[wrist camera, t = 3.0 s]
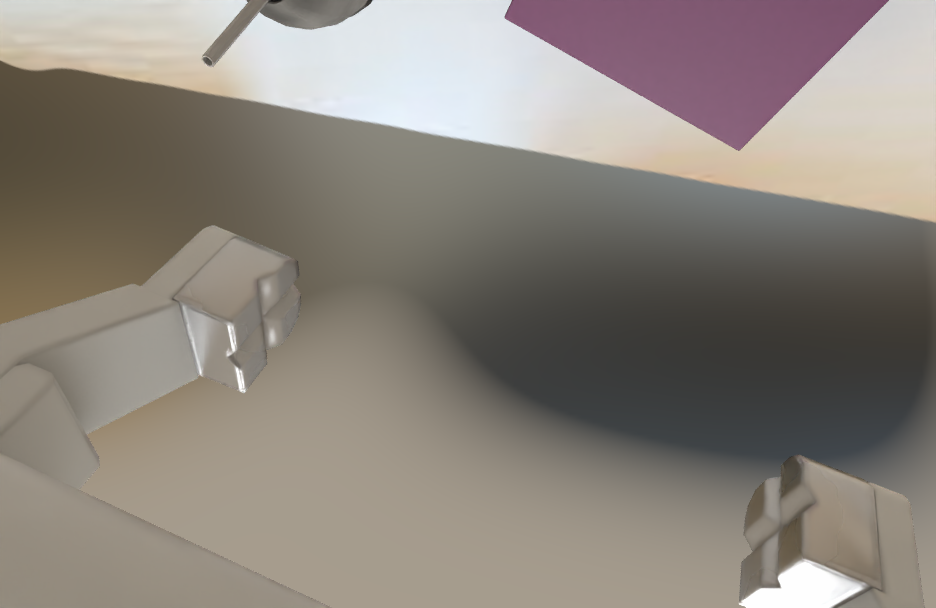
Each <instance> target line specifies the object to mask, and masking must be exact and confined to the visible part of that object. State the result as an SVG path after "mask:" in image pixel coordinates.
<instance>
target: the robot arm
mask: <svg viewBox="0 0 936 608" xmlns="http://www.w3.org/2000/svg"><path fill="white" fill-rule="evenodd" d="M298 276H299V267H298V261H297V260H295V259H293V258H291V257H288V256H286V255H284V254H281V253H279V252H277V251H274V250H272V249H269V248H267V247H265V246H262V245H260V244H258V243H255V242H253V241H251V240H248V239H246V238H243V237H241V236H238V235H236V234H233V233H231V232H228V231H226V230H223V229H221V228H219V227H216V226H214V225H213V226H210V227H207V228H205V229H203V230H201V231H200V232H199V233H198V234H197V235H196V236H195V237H194V238H193V239H192V240H191V241H189V242H188V243H187V244H186V245H185V246H184V247H183V248H182V249H181V250H180V251H179V252H178V253H177V254H176V255H174V256H173V257H172V258H171V259H170V260H169V261H168V262H167V263H166V264H165V265H164V266H163V267H162V268H160V269H159V270H158V271H157V272H156V273H155V274H154V275H153V276H152V277H151V278H150V279H148V280H147V281H146V282H145V283H144V284H143V285H142V286H141V287H140V286H138V285H135V284H130V285H127V286H124V287H121V288H117V289H114V290H111V291H108V292H104V293H101V294H98V295H94V296H91V297H88V298H85V299H81V300H78V301H75V302H72V303H69V304H65V305H62V306H59V307H55V308H52V309H49V310H46V311H42V312H39V313H36V314H33V315H29V316H26V317H23V318H20V319H17V320H13V321H10V322H7V323H4V324H0V608H331V607H329V606H327V605H325V604H323V603H321V602H319V601H316V600H314V599H312V598H310V597H308V596H306V595H303V594H301V593H299V592H297V591H295V590H293V589H291V588H289V587H286V586H284V585H282V584H280V583H278V582H276V581H274V580H271V579H269V578H267V577H265V576H262V575H261V574H259V573H256V572H254V571H252V570H250V569H248V568H246V567H244V566H241V565H239V564H237V563H235V562H233V561H231V560H228V559H226V558H224V557H222V556H220V555H218V554H216V553H213V552H211V551H209V550H207V549H205V548H203V547H201V546H199V545H196V544H194V543H192V542H190V541H188V540H186V539H184V538H181V537H179V536H177V535H175V534H173V533H171V532H169V531H166V530H164V529H162V528H160V527H158V526H156V525H154V524H151V523H149V522H147V521H145V520H143V519H141V518H139V517H136V516H134V515H132V514H130V513H128V512H126V511H124V510H121V509H119V508H117V507H115V506H113V505H111V504H108V503H106V502H104V501H102V500H100V499H98V498H96V497H93V496H91V495H89V494H87V493H85V492H83V491H81V490H79V489H80V488H81V487H82V486H83V485H84V484H85V483H86V481H87V480H88V479H89V478H90V477H91V476H92V474H93V473H94V472H95V471H96V470H97V469H98V467H99V465H100V464H99V456H98V454H97V453H96V451H95V449H94V447H93V445H92V444H91V442H90V440H89V438H88V437H87V434H88V433H90V432H93V431H94V430H96V429H98V428H100V427H102V426H104V425H106V424H108V423H110V422H112V421H114V420H116V419H118V418H120V417H122V416H124V415H126V414H128V413H130V412H132V411H134V410H136V409H138V408H140V407H142V406H144V405H146V404H148V403H150V402H151V401H154V400H156V399H157V398H160V397H161V396H163V395H165V394H167V393H169V392H171V391H173V390H175V389H177V388H179V387H181V386H183V385H185V384H187V383H189V382H191V381H193V380H195V379H197V378H198V375H200V376H203V377H205V378H208V379H210V380H213V381H215V382H218V383H221V384H223V385H226V386H228V387H231V388H233V389H236V390H238V391H241V392H243V393H245V391H246V390H247V389H248V388H249V386H250V385H251V384H252V382H253V381H254V380H255V379H256V377H257V376H258V375H259V373H260V372H261V371H262V370H263V368H264V367H265V366H266V365H267V352H266V350H269V349H271V348H274V347H277V346H279V345H282V344H283V342H284V341H285V340H286V338H287V337H288V336H289V334H290V333H291V332H292V329H293V327H294V325H295V323H296V321H297V318H298V316H299V311H300V306H301V294H300V292H299V291H298V290H297V288H296V287H295V285H294V284H293V283H294V281H295V280H296V279H297V278H298ZM744 536H745V538H746V540H747V542H748V543H749V545H750V548H751V550H752V551H753V552H752V553H751V554H750V555H749V556H748V557H746V558H745V559H744V560H743V561H742V565H741V580H740V596H739V604H741V605H743V606H745V607H747V608H925V607H924V600H923V593H922V585H921V578H920V570H919V563H918V556H917V549H916V542H915V534H914V526H913V519H912V512H911V505H910V503H909V501H908V500H907V498H906V496H904V495H901V494H898V493H896V492H893V491H891V490H888V489H886V488H883V487H880V486H878V485H875V484H873V483H870V482H866V481H865V480H864V479H862V478H859V477H856V476H854V475H851V474H848V473H846V472H843V471H840V470H838V469H835V468H832V467H830V466H827V465H825V464H822V463H819V462H817V461H814V460H811V459H809V458H806V457H803V456H801V455H795V456H791V457H790V458H788V459H787V460H786V461H785V462H784V463H783V464H782V465H781V477H777V478H771V479H766V480H765V481H764V482H763V483H762V484H761V485H760V486H759V487H758V488H757V489H756V491H755V493H754V494H753V496H752V499H751V501H750V503H749V505H748V508H747V512H746V517H745V524H744Z"/></svg>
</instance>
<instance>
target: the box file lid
mask: <svg viewBox="0 0 936 608" xmlns="http://www.w3.org/2000/svg"><path fill="white" fill-rule="evenodd" d="M888 1H889V0H512V2H511V4H510V6H509V8H508V10H507V13H506V15H505V19H507V20H509V21H510V22H512V23H514V24H516V25H517V26H519V27H521V28H523V29H524V30H526V31H528V32H530V33H532V34H533V35H535V36H537V37H539V38H540V39H542V40H544V41H546V42H547V43H549V44H551V45H553V46H554V47H556V48H558V49H560V50H562V51H563V52H565V53H567V54H569V55H570V56H572V57H574V58H576V59H577V60H579V61H581V62H583V63H584V64H586V65H588V66H590V67H592V68H593V69H595V70H597V71H599V72H600V73H602V74H604V75H606V76H607V77H609V78H611V79H613V80H614V81H616V82H618V83H620V84H621V85H623V86H625V87H627V88H629V89H630V90H632V91H634V92H636V93H637V94H639V95H641V96H643V97H644V98H646V99H648V100H650V101H651V102H653V103H655V104H657V105H659V106H660V107H662V108H664V109H666V110H667V111H669V112H671V113H673V114H674V115H676V116H678V117H680V118H681V119H683V120H685V121H687V122H689V123H690V124H692V125H694V126H696V127H697V128H699V129H701V130H703V131H704V132H706V133H708V134H710V135H711V136H713V137H715V138H717V139H718V140H720V141H722V142H724V143H726V144H727V145H729V146H731V147H733V148H734V149H736V150H738V151H739V150H741V149H742V148H743V147H744V146H745V145H746V144H747V143H748V142H749V140H750V139H751V138H752V137H753V136H754V135H755V134H756V133H757V132H758V131H759V130H760V129H761V128H762V127H763V126H764V125H765V124H766V123H767V122H768V121H769V120H770V119H771V118H772V117H773V116H774V115H775V114H776V113H777V112H778V111H779V110H780V109H781V108H782V107H783V106H784V105H785V104H786V103H787V102H788V101H789V100H790V99H791V98H792V97H793V96H794V95H795V94H796V93H797V92H798V91H799V90H800V89H801V88H802V87H803V86H804V85H805V84H806V83H807V82H808V81H809V80H810V79H811V78H812V77H813V76H814V75H815V74H816V73H817V72H818V71H819V70H820V69H821V68H822V67H823V66H824V65H825V64H826V63H827V62H828V61H829V60H830V59H831V58H832V57H833V56H834V55H835V54H836V53H837V52H838V51H839V50H840V49H841V48H842V47H843V46H844V45H845V44H846V43H847V42H848V41H849V40H850V39H851V38H852V37H853V36H854V35H855V34H856V33H857V32H858V31H859V30H860V29H861V28H862V27H863V26H864V25H865V24H866V23H867V22H868V21H869V20H870V19H871V18H872V17H873V16H874V15H875V14H876V13H877V12H878V11H879V10H880V9H881V8H882V7H883V6H884V5H885V4H886V3H887V2H888Z"/></svg>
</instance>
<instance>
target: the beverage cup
mask: <svg viewBox="0 0 936 608" xmlns="http://www.w3.org/2000/svg"><path fill="white" fill-rule="evenodd" d="M247 2H248V3H247V4H246V6H245V7H244V8H243V9H242V10H241V11H240V13H239V14H238V15H237V16H236V17H235V18H234V20H233V21H232V22H231V23H230V24H229V25H228V27H227V28H226V29H225V30H224V31H223V32H222V34H221V35H220V36H219V37H218V38H217V39H216V41H215V42H214V43H213V44H212V45H211V46H210V48H209V49H208V50H207V51H206V52H205V53H204V55H203V56H202V61H203V62H204V64H205V65H207V66H209V67H213V66H214V65H215V64H216V63H217V62H218V61H219V59H220V58H221V57H222V56H223V55H224V53H225V52H226V51H227V50H228V49H229V47H230V46H231V45H232V44H233V43H234V41H235V40H236V39H237V38H238V37H239V36H240V34H241V33H242V32H243V31H244V30H245V28H246V27H247V26H248V25H249V24H250V22H251V21H252V20H253V19H254V18H255V16H256V15H257V14H258V13H259V12H260V13H262V14H263V15H264V16H266V17H268V18H270V19H272V20H274V21H276V22H279V23H281V24H283V25H285V26H289V27H296V28H302V29H316V28H321V27H326V26H331V25H336V24H338V23H340V22H342V21H344V20H345V19H347V18H348V17H351V16H354V15H355V14H357V13H358V12H359V11H361V10H362V9H364V8H365V7H367V6H368V5H369V4H371V2H372V0H247Z"/></svg>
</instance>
